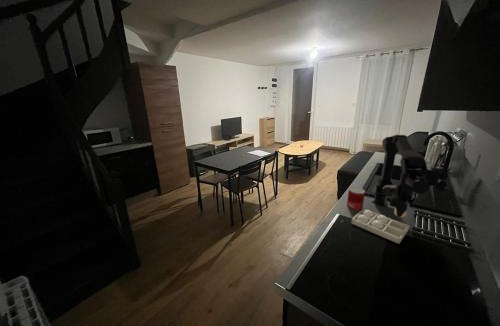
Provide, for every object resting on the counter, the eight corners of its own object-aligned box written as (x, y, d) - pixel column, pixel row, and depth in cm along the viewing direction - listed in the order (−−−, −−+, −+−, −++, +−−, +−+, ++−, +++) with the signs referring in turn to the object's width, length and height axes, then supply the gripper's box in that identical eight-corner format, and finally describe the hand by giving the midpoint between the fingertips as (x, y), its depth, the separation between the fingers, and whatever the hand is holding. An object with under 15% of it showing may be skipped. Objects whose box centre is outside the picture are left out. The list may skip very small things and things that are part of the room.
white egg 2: (364, 214, 109) (365, 207, 107) (373, 218, 106) (374, 210, 104) (360, 218, 106) (361, 210, 105) (370, 221, 103) (371, 213, 101)
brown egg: (395, 212, 97) (396, 203, 96) (406, 216, 94) (408, 207, 92) (391, 216, 95) (393, 208, 93) (403, 220, 91) (405, 212, 90)
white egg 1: (358, 219, 105) (360, 211, 103) (368, 223, 101) (369, 215, 100) (354, 223, 102) (356, 215, 101) (364, 227, 99) (366, 219, 97)
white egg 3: (372, 225, 100) (374, 217, 99) (383, 229, 97) (385, 221, 95) (369, 229, 97) (370, 220, 96) (379, 233, 94) (381, 225, 92)
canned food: (364, 211, 113) (367, 193, 109) (348, 210, 114) (351, 192, 111) (359, 204, 120) (362, 187, 117) (345, 203, 122) (347, 186, 118)
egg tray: (362, 213, 111) (363, 208, 110) (408, 231, 96) (409, 225, 95) (350, 224, 102) (351, 218, 101) (398, 244, 88) (400, 239, 87)
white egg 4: (377, 219, 104) (379, 212, 103) (388, 223, 101) (389, 215, 99) (374, 223, 101) (375, 215, 100) (384, 227, 98) (386, 219, 96)
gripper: (393, 173, 100) (387, 201, 105) (379, 184, 89) (373, 215, 94) (421, 179, 92) (414, 209, 97) (410, 192, 81) (402, 226, 86)
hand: (400, 214), depth 94 cm, fingers closed on brown egg, 5 cm apart
